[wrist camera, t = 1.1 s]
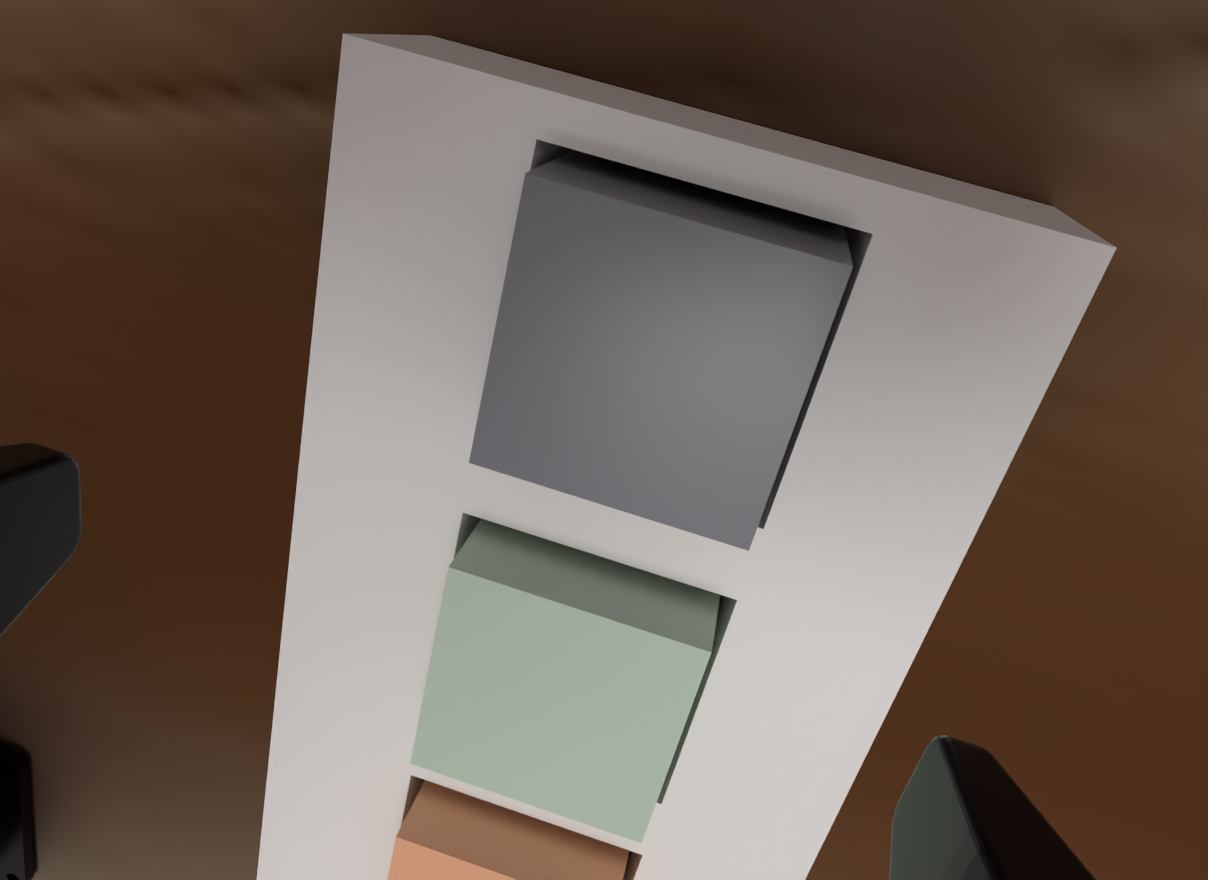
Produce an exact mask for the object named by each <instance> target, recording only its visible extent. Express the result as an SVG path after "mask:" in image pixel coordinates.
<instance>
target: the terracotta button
mask: <svg viewBox="0 0 1208 880" xmlns="http://www.w3.org/2000/svg"><path fill="white" fill-rule="evenodd" d="M628 854H629V850H626V849H623V848H620V847H618V846H615V845H612V844H609V843H606V842H603V841H600V840H597V839H594V838H592V837H589V836H586V835H583V834H580V833H577V832H574V831H571V830H568V829H566V828H563V827H560V826H557V825H554V824H551V823H548V822H545V821H542V820H540V819H537V818H534V817H531V816H528V815H525V814H522V813H519V812H516V811H514V810H511V809H508V808H505V807H502V806H499V805H496V804H493V803H490V802H488V801H485V800H482V799H479V798H476V797H473V796H470V795H467V794H464V793H462V792H459V791H456V790H453V789H450V788H447V787H444V786H441V785H438V784H435V783H433V782H430V781H427V780H425V781H424V783H423V785H422V787H421V789H420V791H419V793H418V795H417V797H416V799H415V800H414V802H413V804H412V806H411V808H410V810H409V812H408V814H407V816H406V818H405V820H404V822H403V824H402V826H401V828H400V830H399V832H398V834H397V835H396V838H395V843H394V849H393V854H392V859H391V864H390V869H389V874H388V879H387V880H623V877H624V873H625V868H626V863H627V859H628Z"/></svg>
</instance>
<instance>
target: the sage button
mask: <svg viewBox="0 0 1208 880" xmlns="http://www.w3.org/2000/svg"><path fill="white" fill-rule="evenodd" d="M719 600H720V595H719V594H716V593H713V592H710V591H707V590H704V589H701V588H698V587H694V586H691V585H688V584H685V583H682V582H679V581H676V580H672V579H669V578H666V577H663V576H660V575H657V574H654V573H651V572H647V571H644V570H641V569H638V568H635V567H632V566H629V565H626V564H622V563H619V562H616V561H613V560H610V559H607V558H604V557H600V556H597V555H594V554H591V553H588V552H585V551H582V550H579V549H575V548H572V547H569V546H566V545H563V544H560V543H557V542H554V541H550V540H547V539H544V538H541V537H538V536H535V535H532V534H528V533H525V532H522V531H519V530H516V529H513V528H510V527H507V526H503V525H500V524H497V523H494V522H491V521H488V520H485V519H481V520H480V521H479V523H478V524H477V526H476V527H475V529H474V530H473V532H472V533H471V535H470V536H469V537H468V539H467V540H466V542H465V543H464V545H463V546H462V548H461V549H460V551H459V552H458V554H457V555H456V557H455V558H454V560H453V561H452V563H451V564H450V565H449V567H448V572H447V577H446V582H445V587H444V592H443V597H442V603H441V608H440V613H439V618H438V623H437V628H436V633H435V638H434V644H433V649H432V654H431V659H430V664H429V669H428V674H427V679H426V685H425V690H424V695H423V700H422V705H421V710H420V715H419V720H418V726H417V731H416V736H415V741H414V746H413V751H412V756H411V761H410V764H413V765H416V766H418V767H421V768H424V769H427V770H430V771H433V772H436V773H439V774H442V775H445V776H447V777H450V778H453V779H456V780H459V781H462V782H465V783H468V784H471V785H474V786H476V787H479V788H482V789H485V790H488V791H491V792H494V793H497V794H500V795H503V796H505V797H508V798H511V799H514V800H517V801H520V802H523V803H526V804H529V805H532V806H534V807H537V808H540V809H543V810H546V811H549V812H552V813H555V814H558V815H561V816H563V817H566V818H569V819H572V820H575V821H578V822H581V823H584V824H587V825H590V826H592V827H595V828H598V829H601V830H604V831H607V832H610V833H613V834H616V835H619V836H621V837H624V838H627V839H630V840H633V841H636V842H639V843H642V841H643V838H644V835H645V833H646V830H647V827H648V824H649V822H650V819H651V816H652V813H653V811H654V808H655V805H656V803H657V800H658V797H659V794H660V792H661V789H662V786H663V783H664V781H665V778H666V775H667V773H668V770H669V767H670V764H671V762H672V759H673V756H674V754H675V751H676V748H677V745H678V743H679V740H680V737H681V734H682V732H683V729H684V726H685V724H686V721H687V718H688V715H689V713H690V710H691V707H692V704H693V702H694V699H695V696H696V694H697V691H698V688H699V685H700V683H701V680H702V677H703V675H704V672H705V669H706V666H707V664H708V661H709V658H710V655H711V653H712V646H713V640H714V633H715V627H716V620H717V613H718V607H719Z"/></svg>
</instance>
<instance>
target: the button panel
mask: <svg viewBox="0 0 1208 880" xmlns="http://www.w3.org/2000/svg"><path fill="white" fill-rule="evenodd" d="M574 150H577V151H580V152H584V153H587V154H591V155H594V156H598V157H602V158H605V159H609V160H612V161H616V162H619V163H623V164H626V165H630V166H633V167H637V168H641V169H644V170H648V171H651V172H655V173H658V174H662V175H665V176H669V177H672V178H676V179H680V180H683V181H687V182H690V183H694V184H697V185H701V186H704V187H708V188H712V189H715V190H719V191H722V192H726V193H729V194H733V195H736V196H740V197H743V198H747V199H751V200H754V201H758V202H761V203H765V204H768V205H772V206H775V207H779V208H782V209H786V210H790V211H793V212H797V213H800V214H804V215H807V216H811V217H814V218H818V219H821V220H825V221H829V222H832V223H836V224H839V225H843V226H846V227H849V228H848V231H847V233H846V237H847V241H848V246H849V250H850V255H851V259H852V264H853V269H852V271H851V274H850V277H849V279H848V282H847V285H846V288H845V290H844V293H843V296H842V299H841V301H840V304H839V307H838V309H837V312H836V315H835V318H834V320H833V323H832V326H831V329H830V331H829V334H828V337H827V339H826V342H825V345H824V348H823V350H822V353H821V356H820V358H819V361H818V364H817V367H816V369H815V372H814V375H813V378H812V380H811V383H810V386H809V388H808V391H807V394H806V397H805V399H804V402H803V405H802V408H801V410H800V413H799V416H798V418H797V421H796V424H795V427H794V429H793V432H792V435H791V437H790V440H789V443H788V446H787V448H786V451H785V454H784V457H783V459H782V462H781V465H780V467H779V470H778V473H777V476H776V478H775V481H774V484H773V487H772V489H771V492H770V495H769V497H768V500H767V503H766V506H765V508H764V511H763V514H762V516H761V519H760V522H759V525H758V527H757V530H756V533H755V536H754V538H753V541H752V544H751V546H750V549H749V551H747V550H744V549H741V548H738V547H735V546H732V545H728V544H725V543H722V542H719V541H716V540H713V539H709V538H706V537H703V536H700V535H697V534H693V533H690V532H687V531H684V530H681V529H678V528H674V527H671V526H668V525H665V524H662V523H658V522H655V521H652V520H649V519H646V518H643V517H639V516H636V515H633V514H630V513H627V512H623V511H620V510H617V509H614V508H611V507H608V506H604V505H601V504H598V503H595V502H592V501H588V500H585V499H582V498H579V497H576V496H573V495H569V494H566V493H563V492H560V491H557V490H554V489H550V488H547V487H544V486H541V485H538V484H534V483H531V482H528V481H525V480H522V479H519V478H515V477H512V476H509V475H506V474H503V473H499V472H496V471H493V470H490V469H487V468H484V467H480V466H477V465H474V464H471V463H469V459H470V454H471V449H472V444H473V439H474V433H475V428H476V423H477V418H478V413H479V408H480V403H481V398H482V392H483V387H484V382H485V377H486V372H487V367H488V362H489V357H490V352H491V346H492V341H493V336H494V331H495V326H496V321H497V316H498V311H499V305H500V300H501V295H502V290H503V285H504V280H505V275H506V270H507V264H508V259H509V254H510V249H511V244H512V239H513V234H514V229H515V223H516V218H517V213H518V208H519V203H520V198H521V193H522V188H523V182H524V177H525V173H527V172H529V171H531V170H533V169H535V168H537V167H540V166H542V165H544V164H546V163H548V162H550V161H553V160H555V159H557V158H559V157H561V156H563V155H565V154H568V153H570V152H572V151H574ZM1115 250H1116V247H1115V246H1113V245H1112V244H1110V243H1109V242H1107V241H1105V240H1104V239H1102V238H1101V237H1099V236H1098V235H1096V234H1095V233H1093V232H1092V231H1090V230H1089V229H1087V228H1086V227H1084V226H1082V225H1081V224H1079V223H1078V222H1076V221H1075V220H1073V219H1072V218H1070V217H1069V216H1067V215H1066V214H1064V213H1063V212H1061V211H1059V210H1058V209H1056V208H1055V207H1053V206H1049V205H1046V204H1042V203H1039V202H1035V201H1031V200H1028V199H1024V198H1020V197H1017V196H1013V195H1009V194H1006V193H1002V192H999V191H995V190H991V189H988V188H984V187H980V186H977V185H973V184H969V183H966V182H962V181H959V180H955V179H951V178H948V177H944V176H940V175H937V174H933V173H929V172H926V171H922V170H918V169H915V168H911V167H908V166H904V165H900V164H897V163H893V162H889V161H886V160H882V159H878V158H875V157H871V156H868V155H864V154H860V153H857V152H853V151H849V150H846V149H842V148H838V147H835V146H831V145H828V144H824V143H820V142H817V141H813V140H809V139H806V138H802V137H798V136H795V135H791V134H788V133H784V132H780V131H777V130H773V129H769V128H766V127H762V126H758V125H755V124H751V123H748V122H744V121H740V120H737V119H733V118H729V117H726V116H722V115H718V114H715V113H711V112H707V111H704V110H700V109H697V108H693V107H689V106H686V105H682V104H678V103H675V102H671V101H667V100H664V99H660V98H657V97H653V96H649V95H646V94H642V93H638V92H635V91H631V90H627V89H624V88H620V87H617V86H613V85H609V84H606V83H602V82H598V81H595V80H591V79H587V78H584V77H580V76H577V75H573V74H569V73H566V72H562V71H558V70H555V69H551V68H547V67H544V66H540V65H536V64H533V63H529V62H526V61H522V60H518V59H515V58H511V57H507V56H504V55H500V54H496V53H493V52H489V51H486V50H482V49H478V48H475V47H471V46H467V45H464V44H460V43H456V42H453V41H449V40H446V39H442V38H438V37H435V36H431V35H389V34H345V33H343V37H342V46H341V56H340V66H339V76H338V86H337V95H336V105H335V115H334V125H333V135H332V145H331V154H330V164H329V174H328V184H327V194H326V204H325V213H324V223H323V233H322V243H321V253H320V262H319V272H318V282H317V292H316V302H315V312H314V321H313V331H312V341H311V351H310V361H309V371H308V380H307V390H306V400H305V410H304V420H303V429H302V439H301V449H300V459H299V469H298V479H297V488H296V498H295V508H294V518H293V528H292V537H291V547H290V557H289V567H288V577H287V587H286V596H285V606H284V616H283V626H282V636H281V646H280V655H279V665H278V675H277V685H276V695H275V704H274V714H273V724H272V734H271V744H270V754H269V763H268V773H267V783H266V793H265V803H264V813H263V822H262V832H261V842H260V852H259V862H258V871H257V880H387V879H388V874H389V869H390V864H391V859H392V854H393V849H394V843H395V838H396V835H397V834H398V832H399V830H400V828H401V826H402V824H403V822H404V820H405V818H406V816H407V814H408V812H409V810H410V808H411V806H412V804H413V802H414V800H415V799H416V797H417V795H418V793H419V791H420V789H421V787H422V785H423V783H424V781H425V780H427V781H430V782H433V783H435V784H438V785H441V786H444V787H447V788H450V789H453V790H456V791H459V792H462V793H464V794H467V795H470V796H473V797H476V798H479V799H482V800H485V801H488V802H490V803H493V804H496V805H499V806H502V807H505V808H508V809H511V810H514V811H516V812H519V813H522V814H525V815H528V816H531V817H534V818H537V819H540V820H542V821H545V822H548V823H551V824H554V825H557V826H560V827H563V828H566V829H568V830H571V831H574V832H577V833H580V834H583V835H586V836H589V837H592V838H594V839H597V840H600V841H603V842H606V843H609V844H612V845H615V846H618V847H620V848H623V849H626V850H629V854H628V859H627V863H626V868H625V873H624V877H623V880H805V879H806V877H807V875H808V873H809V871H810V869H811V867H812V865H813V863H814V860H815V858H816V856H817V854H818V852H819V850H820V848H821V846H822V844H823V842H824V840H825V838H826V836H827V834H828V832H829V830H830V828H831V826H832V824H833V822H834V820H835V818H836V816H837V814H838V812H839V810H840V808H841V806H842V804H843V802H844V800H845V798H846V796H847V794H848V792H849V790H850V788H851V785H852V783H853V781H854V779H855V777H856V775H857V773H858V771H859V769H860V767H861V765H862V763H863V761H864V759H865V757H866V755H867V753H868V751H869V749H870V747H871V745H872V743H873V741H874V739H875V737H876V735H877V733H878V731H879V729H880V727H881V725H882V723H883V721H884V719H885V717H886V715H887V713H888V710H889V708H890V706H891V704H892V702H893V700H894V698H895V696H896V694H897V692H898V690H899V688H900V686H901V684H902V682H903V680H904V678H905V676H906V674H907V672H908V670H909V668H910V666H911V664H912V662H913V660H914V658H915V656H916V654H917V652H918V650H919V648H920V646H921V644H922V642H923V640H924V638H925V635H926V633H927V631H928V629H929V627H930V625H931V623H932V621H933V619H934V617H935V615H936V613H937V611H938V609H939V607H940V605H941V603H942V601H943V599H944V597H945V595H946V593H947V591H948V589H949V587H950V585H951V583H952V581H953V579H954V577H955V575H956V573H957V571H958V569H959V567H960V565H961V562H962V560H963V558H964V556H965V554H966V552H967V550H968V548H969V546H970V544H971V542H972V540H973V538H974V536H975V534H976V532H977V530H978V528H979V526H980V524H981V522H982V520H983V518H984V516H985V514H986V512H987V510H988V508H989V506H990V504H991V502H992V500H993V498H994V496H995V494H996V492H997V490H998V487H999V485H1000V483H1001V481H1002V479H1003V477H1004V475H1005V473H1006V471H1007V469H1008V467H1009V465H1010V463H1011V461H1012V459H1013V457H1014V455H1015V453H1016V451H1017V449H1018V447H1019V445H1020V443H1021V441H1022V439H1023V437H1024V435H1025V433H1026V431H1027V429H1028V427H1029V425H1030V423H1031V421H1032V419H1033V417H1034V415H1035V412H1036V410H1037V408H1038V406H1039V404H1040V402H1041V400H1042V398H1043V396H1044V394H1045V392H1046V390H1047V388H1048V386H1049V384H1050V382H1051V380H1052V378H1053V376H1054V374H1055V372H1056V370H1057V368H1058V366H1059V364H1060V362H1061V360H1062V358H1063V356H1064V354H1065V352H1066V350H1067V348H1068V346H1069V344H1070V342H1071V340H1072V337H1073V335H1074V333H1075V331H1076V329H1077V327H1078V325H1079V323H1080V321H1081V319H1082V317H1083V315H1084V313H1085V311H1086V309H1087V307H1088V305H1089V303H1090V301H1091V299H1092V297H1093V295H1094V293H1095V291H1096V289H1097V287H1098V285H1099V283H1100V281H1101V279H1102V277H1103V275H1104V273H1105V271H1106V269H1107V267H1108V264H1109V262H1110V260H1111V258H1112V256H1113V254H1114V252H1115ZM481 519H485V520H488V521H491V522H494V523H497V524H500V525H503V526H507V527H510V528H513V529H516V530H519V531H522V532H525V533H528V534H532V535H535V536H538V537H541V538H544V539H547V540H550V541H554V542H557V543H560V544H563V545H566V546H569V547H572V548H575V549H579V550H582V551H585V552H588V553H591V554H594V555H597V556H600V557H604V558H607V559H610V560H613V561H616V562H619V563H622V564H626V565H629V566H632V567H635V568H638V569H641V570H644V571H647V572H651V573H654V574H657V575H660V576H663V577H666V578H669V579H672V580H676V581H679V582H682V583H685V584H688V585H691V586H694V587H698V588H701V589H704V590H707V591H710V592H713V593H716V594H719V595H720V600H719V607H718V613H717V620H716V627H715V633H714V640H713V646H712V653H711V655H710V658H709V661H708V664H707V666H706V669H705V672H704V675H703V677H702V680H701V683H700V685H699V688H698V691H697V694H696V696H695V699H694V702H693V704H692V707H691V710H690V713H689V715H688V718H687V721H686V724H685V726H684V729H683V732H682V734H681V737H680V740H679V743H678V745H677V748H676V751H675V754H674V756H673V759H672V762H671V764H670V767H669V770H668V773H667V775H666V778H665V781H664V783H663V786H662V789H661V792H660V794H659V797H658V800H657V803H656V805H655V808H654V811H653V813H652V816H651V819H650V822H649V824H648V827H647V830H646V833H645V835H644V838H643V841H642V843H639V842H636V841H633V840H630V839H627V838H624V837H621V836H619V835H616V834H613V833H610V832H607V831H604V830H601V829H598V828H595V827H592V826H590V825H587V824H584V823H581V822H578V821H575V820H572V819H569V818H566V817H563V816H561V815H558V814H555V813H552V812H549V811H546V810H543V809H540V808H537V807H534V806H532V805H529V804H526V803H523V802H520V801H517V800H514V799H511V798H508V797H505V796H503V795H500V794H497V793H494V792H491V791H488V790H485V789H482V788H479V787H476V786H474V785H471V784H468V783H465V782H462V781H459V780H456V779H453V778H450V777H447V776H445V775H442V774H439V773H436V772H433V771H430V770H427V769H424V768H421V767H418V766H416V765H413V764H410V761H411V756H412V751H413V746H414V741H415V736H416V731H417V726H418V720H419V715H420V710H421V705H422V700H423V695H424V690H425V685H426V679H427V674H428V669H429V664H430V659H431V654H432V649H433V644H434V638H435V633H436V628H437V623H438V618H439V613H440V608H441V603H442V597H443V592H444V587H445V582H446V577H447V572H448V567H449V565H450V564H451V563H452V561H453V560H454V558H455V557H456V555H457V554H458V552H459V551H460V549H461V548H462V546H463V545H464V543H465V542H466V540H467V539H468V537H469V536H470V535H471V533H472V532H473V530H474V529H475V527H476V526H477V524H478V523H479V521H480V520H481Z"/></svg>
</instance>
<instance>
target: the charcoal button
mask: <svg viewBox="0 0 1208 880" xmlns="http://www.w3.org/2000/svg"><path fill="white" fill-rule="evenodd" d="M852 269H853V264H852V259H851V255H850V250H849V246H848V241H847V237H846V232H845V228H844V226H843V225H839V224H836V223H832V222H829V221H825V220H821V219H818V218H814V217H811V216H807V215H804V214H800V213H797V212H793V211H790V210H786V209H782V208H779V207H775V206H772V205H768V204H765V203H761V202H758V201H754V200H751V199H747V198H743V197H740V196H736V195H733V194H729V193H726V192H722V191H719V190H715V189H712V188H708V187H704V186H701V185H697V184H694V183H690V182H687V181H683V180H680V179H676V178H672V177H669V176H665V175H662V174H658V173H655V172H651V171H648V170H644V169H641V168H637V167H633V166H630V165H626V164H623V163H619V162H616V161H612V160H609V159H605V158H602V157H598V156H594V155H591V154H587V153H584V152H580V151H577V150H574V151H572V152H570V153H568V154H565V155H563V156H561V157H559V158H557V159H555V160H553V161H550V162H548V163H546V164H544V165H542V166H540V167H537V168H535V169H533V170H531V171H529V172H527V173H525V177H524V182H523V188H522V193H521V198H520V203H519V208H518V213H517V218H516V223H515V229H514V234H513V239H512V244H511V249H510V254H509V259H508V264H507V270H506V275H505V280H504V285H503V290H502V295H501V300H500V305H499V311H498V316H497V321H496V326H495V331H494V336H493V341H492V346H491V352H490V357H489V362H488V367H487V372H486V377H485V382H484V387H483V392H482V398H481V403H480V408H479V413H478V418H477V423H476V428H475V433H474V439H473V444H472V449H471V454H470V459H469V463H471V464H474V465H477V466H480V467H484V468H487V469H490V470H493V471H496V472H499V473H503V474H506V475H509V476H512V477H515V478H519V479H522V480H525V481H528V482H531V483H534V484H538V485H541V486H544V487H547V488H550V489H554V490H557V491H560V492H563V493H566V494H569V495H573V496H576V497H579V498H582V499H585V500H588V501H592V502H595V503H598V504H601V505H604V506H608V507H611V508H614V509H617V510H620V511H623V512H627V513H630V514H633V515H636V516H639V517H643V518H646V519H649V520H652V521H655V522H658V523H662V524H665V525H668V526H671V527H674V528H678V529H681V530H684V531H687V532H690V533H693V534H697V535H700V536H703V537H706V538H709V539H713V540H716V541H719V542H722V543H725V544H728V545H732V546H735V547H738V548H741V549H744V550H747V551H749V549H750V546H751V544H752V541H753V538H754V536H755V533H756V530H757V527H758V525H759V522H760V519H761V516H762V514H763V511H764V508H765V506H766V503H767V500H768V497H769V495H770V492H771V489H772V487H773V484H774V481H775V478H776V476H777V473H778V470H779V467H780V465H781V462H782V459H783V457H784V454H785V451H786V448H787V446H788V443H789V440H790V437H791V435H792V432H793V429H794V427H795V424H796V421H797V418H798V416H799V413H800V410H801V408H802V405H803V402H804V399H805V397H806V394H807V391H808V388H809V386H810V383H811V380H812V378H813V375H814V372H815V369H816V367H817V364H818V361H819V358H820V356H821V353H822V350H823V348H824V345H825V342H826V339H827V337H828V334H829V331H830V329H831V326H832V323H833V320H834V318H835V315H836V312H837V309H838V307H839V304H840V301H841V299H842V296H843V293H844V290H845V288H846V285H847V282H848V279H849V277H850V274H851V271H852Z"/></svg>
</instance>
